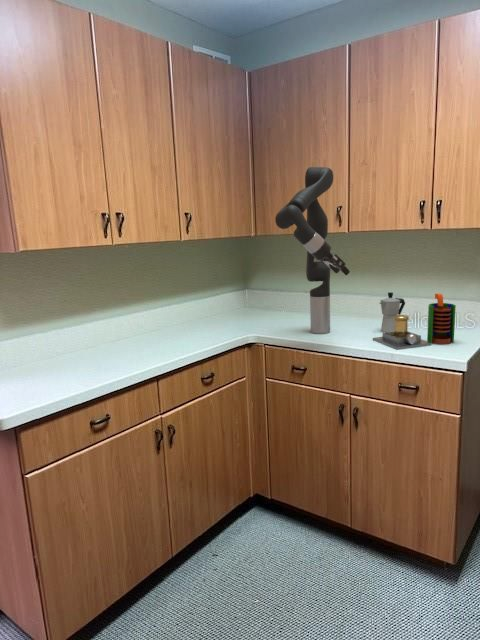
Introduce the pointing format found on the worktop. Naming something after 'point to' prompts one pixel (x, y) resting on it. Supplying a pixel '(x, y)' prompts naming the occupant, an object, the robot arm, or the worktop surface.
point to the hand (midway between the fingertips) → (342, 272)
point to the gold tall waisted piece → (401, 325)
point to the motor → (441, 322)
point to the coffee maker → (390, 312)
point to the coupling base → (402, 341)
